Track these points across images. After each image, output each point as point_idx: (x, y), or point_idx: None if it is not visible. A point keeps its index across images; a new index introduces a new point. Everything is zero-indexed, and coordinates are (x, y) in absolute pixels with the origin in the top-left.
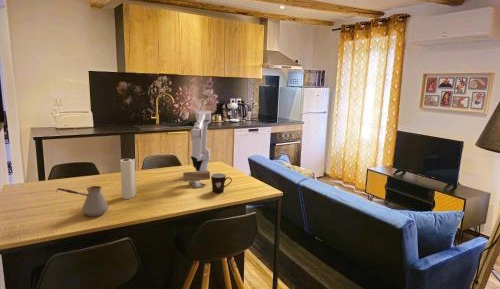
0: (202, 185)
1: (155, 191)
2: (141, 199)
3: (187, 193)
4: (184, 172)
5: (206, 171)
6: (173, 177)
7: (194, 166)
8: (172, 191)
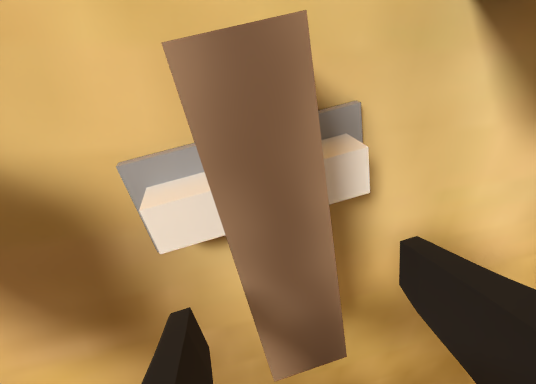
0: (328, 115)
1: (371, 372)
2: (457, 380)
3: (456, 216)
4: (280, 371)
5: (225, 93)
6: (67, 378)
7: (207, 362)
8: (392, 304)
